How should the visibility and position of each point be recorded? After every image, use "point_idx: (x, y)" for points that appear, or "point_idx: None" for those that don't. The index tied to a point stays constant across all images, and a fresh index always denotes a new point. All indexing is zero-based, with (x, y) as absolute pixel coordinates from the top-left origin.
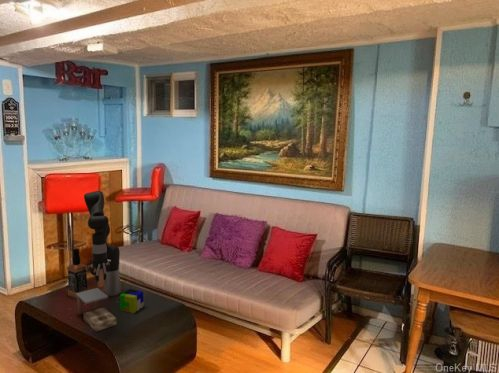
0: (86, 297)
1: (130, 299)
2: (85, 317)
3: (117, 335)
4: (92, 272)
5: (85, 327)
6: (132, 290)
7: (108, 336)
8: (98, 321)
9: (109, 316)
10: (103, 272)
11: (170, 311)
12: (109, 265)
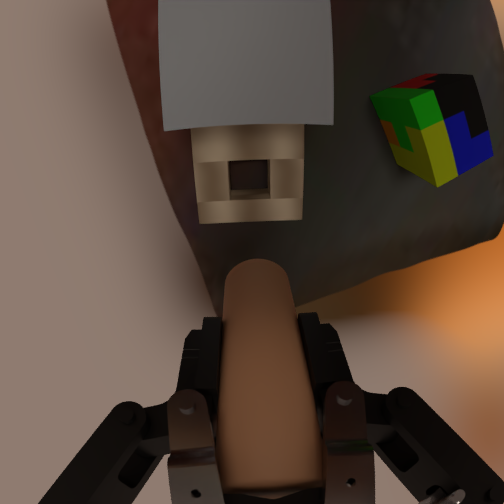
0: (195, 48)
1: (425, 164)
2: None
3: None
4: (127, 473)
5: (177, 149)
6: (474, 100)
7: None
8: (221, 200)
9: (284, 183)
10: (319, 416)
11: (467, 241)
12: (417, 496)
